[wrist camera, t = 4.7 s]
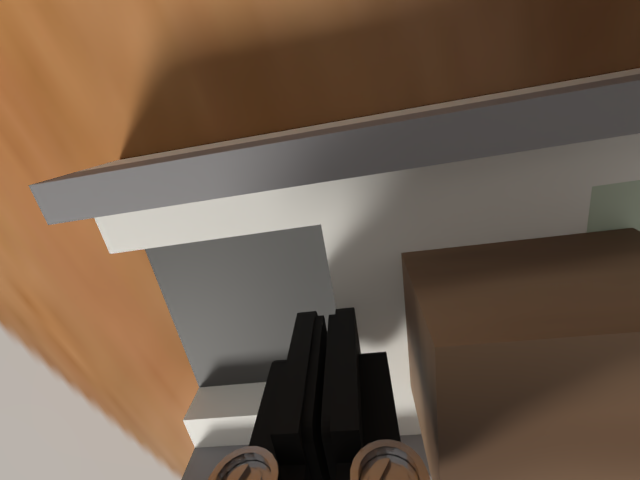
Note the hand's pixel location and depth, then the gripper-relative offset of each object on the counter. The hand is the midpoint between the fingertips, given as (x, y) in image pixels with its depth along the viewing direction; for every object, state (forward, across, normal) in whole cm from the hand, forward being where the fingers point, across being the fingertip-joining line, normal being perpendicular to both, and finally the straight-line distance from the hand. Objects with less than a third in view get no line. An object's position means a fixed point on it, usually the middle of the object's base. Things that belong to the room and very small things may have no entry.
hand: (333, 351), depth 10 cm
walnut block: (+1, -5, 0) cm, 5 cm away
